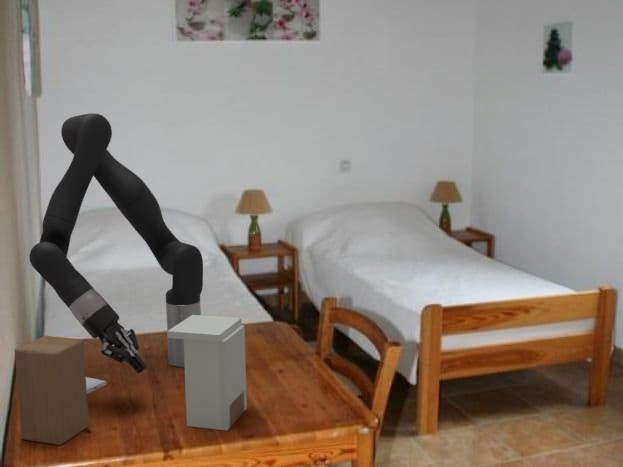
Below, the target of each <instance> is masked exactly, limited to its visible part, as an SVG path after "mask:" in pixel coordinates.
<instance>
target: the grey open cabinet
mask: <svg viewBox="0 0 623 467" xmlns="http://www.w3.org/2000/svg"><path fill="white" fill-rule="evenodd" d="M245 327H246V326H245V325H243V324H242V317H229V316H213V315H202V314H201V315H191V316H190V317H188V318H187V319H185V320H184V321H182V322H181V323H179V324H177V325H176V326H174V327H173V328H171V329H170V330H168V331H167V330H166V333H167V334H166V335H167V339H168V338H176V339H184V364H185V367H184V384H185V385H184V386H185V410H186V426H187V427H193V428H202V429H211V430H217V431H218V430H219V431H220V430H221V431H229V429H230V428H232V426H233V425H234V424H235V422H236V421H237V420H238V419H239V418H240V417H241V416H242V415H243V413H245V411H246V410H247V408H248V407H247V374H246V373H247V372H246V371H247V370H246V369H247V368H246V364H247V363H246V328H245Z"/></svg>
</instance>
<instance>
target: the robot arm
mask: <svg viewBox="0 0 623 467" xmlns="http://www.w3.org/2000/svg"><path fill="white" fill-rule="evenodd" d="M112 130H113V129H112V126H111V123H110V122H109V120H108V119H107V118H106V117H105V116H104V115H103V114H99V113H95V112H94V113H92V112H91V113H86V114H80V115H75V116H71V117H69V118H67V119H66V120H64V122H63V124H62V126H61V138H62V141H63V143H64V145H65V147H66V148H67V149H68V150H69V151H70V152H71V153H72V155H73V157H72V159H71V162H70V164H69V167H68V168H67V170H66V172H65V173H64V175H63V177H62V178H61V180H60V181H59V182H58V184H57V185H56V187H55V189H54V191H53V192H52V194H51V197H50V199H49V201H48V204H47V208H46V211H45V214H44V217H43V220H42V233H41V236H40V239H39V243H36V244H35V245H34V246H32V248H31V250H30V252H29V263H30V265H31V267H32V268H33V269H34V270H35V271H36V272H37V273H38V274H39V275H40V276H41V277H42V278H43V280H45V282H47V284H49V286H51V287H52V289H53V290H54V292H55V293H56V294H57V296H58V297H59V299H60V300H61V301H62V302H63V303H64V304H65V306H66V307H67V308H68V309H69V311H70V312H71V313H72V315H73V317H74V318H75V319H76V320H77V321H78V322H79V323H80V325H81V326H82V327H83V328H84V330H85V331H86V332H87V333H88V335H90V336H91V337H92V338H93V339H97V338H98V339H99V341H100V342H101V344H102V345H103V349H101V350H100V354H101V355H104V357H105V356H106V357H108V358H110V359H111V360H114V361H116V362H118V363H120V364H122V363H128V364H129V366H131V368H132V369H133V370H134V371H135V372H136V373H137V374H140V373H142V372H143V371H144V370H145V369H147V367H148V366H147V364H146V363H145V361H144V360H143V359H142V358H141V357H140V356H139V354H138V353H139V352H138V350H140V345H139V343H138V339H137V336H136V333H135V330H134V329H132V328H130V329H129V330H127V329H125V327H124V326H123V325H121V324H120V323H119V322H118V321H119V320H120V316H119V315H118V313H117V312H116V311H115V310H114V309H113V308H112V307H113V306H111V305H110V304H109V303H108V302H107V301H106V299H105V298H104V297H103V296H102V295H101V294H100V292H98V291H97V290H96V289H95V288H94V287H93V286H92V284H91V283H90V282H89V281H88V280H87V279H86V278H85V277H84V276H83V275H82V274H81V273H80V272H79V271H78V269H76V268H75V266H74V265H73V263H71V261H70V259H68V252H69V248H70V242H71V237H72V234H73V232H74V229H75V226H76V224H77V220H78V216H79V214H80V210H81V206H82V204H83V201H84V199H85V196H86V193H87V191H88V189H89V186H90V184H91V182H92V179H93V177H94V178H95V180H96V182H98V184H99V186H100V187H101V188H102V189H103V191H104V192H105V193H106V194H107V196H108V197H109V198H110V199H111V201H112V202H113V204H114V205H115V206H116V208H117V209H118V211H119V212H120V213H121V214H122V215H123V217H124V218H125V219H126V220H127V221H128V223H129V224H130V225H131V227H132V228H133V229H134V230H135V231H136V232H137V234H138V236H140V237H141V238H142V239H143V241H144V242H145V243H146V245H147V246H148V248H149V250H150V251H151V253H152V254H153V256H154V259H155V260H156V261H157V263H158V265H159V266H160V267H161V269H162V270H163V271H164V272H165V273H167V274H168V275H170V276H172V285H171V288H170V289H169V290H167V291H166V293H165V307H166V308H165V309H166V332H167V331H168V330H170V329H171V328H173V327H174V326H176V325H177V324H179V323H181V322H182V321H184V320H185V319H187V318H188V317H190V316H191V315H202V312H201V310H202V309H201V294H202V291H203V288H204V287H203V286H204V285H203V284H204V276H203V275H204V261H203V256H202V253H201V250H200V249H199V248H198V247H196V246H195V245H193V244H189V243H185V242H182V241H180V240H179V239H178V238H177V237H176V236H175V234H174V233H172V231H171V230H170V228H168V226H167V225H166V223H165V221H164V217H163V214H162V210H161V206H160V204H159V202H158V199H157V198H156V196H155V195H154V193H153V192H152V191H151V189H150V188H149V187H148V185H147V184H146V183H145V182H144V181H143V179H142V178H140V176H138V175H137V174H136V173H135V172H134V171H132V170H130V169H129V168H128V167H127V166H125V165H124V164H122V163H121V162H119V161H118V160H117V158H115V156H113V155H112V154H111V153H110V152H109V150H108V147H109V145H110V143H111V140H112V135H113V132H112ZM167 352H168V353H167V354H168V356H167V357H168V361H167V362H168V365H170V366H173V367H179V368H180V367H181V368H185V364H184V339H176V338H168V337H167Z"/></svg>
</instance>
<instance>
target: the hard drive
mask: <svg viewBox="0 0 623 467" xmlns="http://www.w3.org/2000/svg"><path fill="white" fill-rule="evenodd" d="M107 384H108V381H106V380H103V379H102V380H101V379H97V378H92V377H89V376H86V390H87V395H88V394H90V393H92V392H94V391H96V390H98V389H99V388H102V387H105V386H106V385H107Z"/></svg>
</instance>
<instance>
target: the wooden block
mask: <svg viewBox="0 0 623 467" xmlns="http://www.w3.org/2000/svg"><path fill="white" fill-rule="evenodd" d="M14 358H15V361H14V362H15V371H16V372H15V374H16V384H17V395H18V398H17V399H18V407H19V408H18V409H19V411H18V412H19V420H20V421H19V422H20V434H21V435H20V436H21V439H23V440H26V441H31V442H39V443H42V444H43V443H45V444H52V445H58V446H61V445H64V443H66V442H68V441H69V440H71V439H72V438H73V437H75V436H76V435H78V434H79V433H81V432H82V431H84V430H85V429H87V428H88V427H89V425H90V423H89V421H90V420H89V406H88V394H87V390H86V377H87V376H86V363H85V362H86V361H85V360H86V359H85V344H84V340H83V339H82V338H81V339H80V338H74V337H73V338H72V337H63V336H52V335H44V336H41V337H39V338H36V339H35V340H33V341H30V342H29V343H26V344H23V345H21V346H20V347H17V348H15V349H14Z"/></svg>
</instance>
